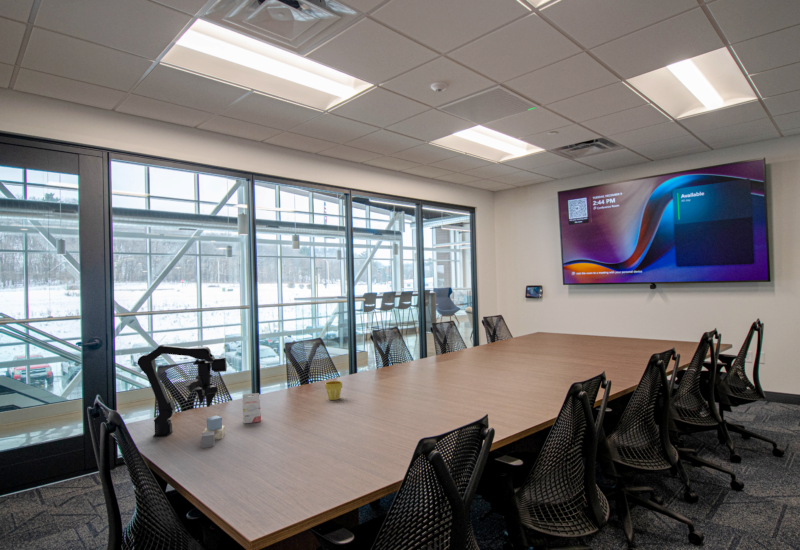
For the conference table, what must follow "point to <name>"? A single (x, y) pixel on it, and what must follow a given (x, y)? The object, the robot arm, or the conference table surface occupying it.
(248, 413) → the ink cartridge box
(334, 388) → the plant pot
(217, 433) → the maple block
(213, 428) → the blue cube
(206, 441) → the grey cube
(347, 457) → the conference table surface
